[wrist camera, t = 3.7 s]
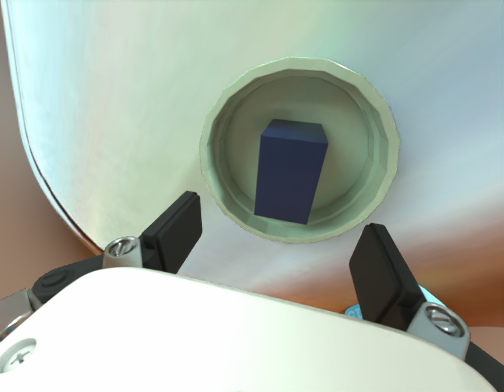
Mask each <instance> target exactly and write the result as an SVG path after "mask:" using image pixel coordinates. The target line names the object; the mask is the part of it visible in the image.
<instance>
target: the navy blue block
mask: <svg viewBox="0 0 504 392" xmlns="http://www.w3.org/2000/svg"><path fill="white" fill-rule="evenodd" d="M327 148H328V141H327V138H326V135H325V132H324V130H323V127H322V124H317V123H308V122H299V121H290V120H281V119H272V121H271V122H270V123H269V125H268V126H267V127H266V129H265V130H264V131H263V133H262V134H261V136H260V148H259V160H258V171H257V183H256V194H255V206H254V215H256V216H261V217H266V218H272V219H277V220H282V221H288V222H293V223H298V224H304V225H307V223H308V219H309V215H310V211H311V208H312V204H313V200H314V196H315V193H316V189H317V185H318V181H319V178H320V174H321V170H322V166H323V163H324V159H325V155H326V151H327Z"/></svg>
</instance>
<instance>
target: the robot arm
mask: <svg viewBox="0 0 504 392" xmlns="http://www.w3.org/2000/svg"><path fill="white" fill-rule="evenodd" d="M201 234H202V220H201V206H200V196H199V195H197V193H196V192H191V191H186V192H185V193H184V194H182V195H181V196H180V197H179V198H178V199H177V200H176V201H175V202H174V203H173V204H172V205H171V206H170V207H169V208H168V209H167V210H166V211H165V212H164V213H163V214H161V215H160V216H159V217H158V218H157V219H156V220H155V221H154V222H153V223H152V224H151V225H150V226H149V227H148V228H147V229H146V230H145V231H144V232H143V233H142V234H141V235H140V236H139V237H138V238H137V237H133V236H126V237H121V238H118V239H116V240H114V241H112V242H111V243H110V244H108V245H107V247H106V248H105V250H104V254H101V255H98V256H95V257H92V258H89V259H85V260H82V261H79V262H75V263H72V264H69V265H65V266H63V267H59V268H57V269H54V270H51V271H50V272H48V273H46V274H44V275H43V276H42V277H40V278H39V279H38V280H37V281H36V282H35V283H34V286H33V287H32V288H31V289H29V290H27V289H26V288H24V289H22V290H20V291H18V292H16V293H13V294H11V295H9V296H7V297H5V298H3V299H1V300H0V392H504V365H502V364H501V363H499V362H498V361H497V360H495V359H494V358H493V357H491V356H490V355H489V354H487V353H486V352H485V351H483V350H482V349H481V348H479V347H478V346H476V345H475V344H474V343H473V342H471V341H470V339H471V333H470V331H469V329H468V327H467V325H466V324H465V323H464V321H463V320H462V319H461V318H460V317H459V316H458V315H457V314H455V313H454V312H453V311H451V310H450V309H448V308H447V307H445V306H443V305H441V304H438V303H435V302H428V301H427V299H426V297H425V296H424V294H423V292H422V290H421V288H420V287H419V285H418V283H417V282H416V280H415V278H414V276H413V275H412V273H411V271H410V269H409V268H408V266H407V264H406V262H405V261H404V259H403V257H402V255H401V254H400V252H399V250H398V248H397V247H396V245H395V243H394V241H393V240H392V238H391V236H390V234H389V233H388V231H387V229H386V227H385V226H384V225H381V224H375V223H370V224H369V225H366V226H365V228H364V230H363V232H362V235H361V237H360V239H359V241H358V243H357V246H356V248H355V250H354V252H353V254H352V257H351V259H350V262H349V267H350V271H351V275H352V279H353V283H354V287H355V291H356V295H357V298H358V302H359V306H360V310H361V314H362V318H363V320H362V319H358V318H354V317H351V316H347V315H343V314H339V313H335V312H331V311H327V310H323V309H318V308H314V307H310V306H306V305H302V304H298V303H294V302H290V301H286V300H282V299H278V298H274V297H269V296H265V295H261V294H257V293H253V292H249V291H244V290H240V289H236V288H232V287H228V286H223V285H219V284H215V283H211V282H206V281H202V280H198V279H194V278H189V277H185V276H180V275H176V273H177V272H178V270H179V269H180V267H181V266H182V264H183V263H184V261H185V260H186V258H187V257H188V255H189V253H190V252H191V250H192V249H193V247H194V246H195V244H196V243H197V241H198V240H199V238H200V237H201Z"/></svg>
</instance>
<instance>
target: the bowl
mask: <svg viewBox="0 0 504 392" xmlns="http://www.w3.org/2000/svg"><path fill="white" fill-rule="evenodd" d="M272 119H281V120H290V121H299V122H308V123H317V124H322V127H323V130H324V132H325V135H326V138H327V141H328V148H327V151H326V155H325V159H324V163H323V166H322V170H321V174H320V178H319V181H318V185H317V189H316V193H315V196H314V200H313V204H312V208H311V211H310V215H309V219H308V223H307V225H304V224H298V223H293V222H288V221H282V220H277V219H272V218H266V217H261V216H256V215H254V206H255V194H256V183H257V171H258V160H259V148H260V136H261V134H262V133H263V131H264V130H265V129H266V127H267V126H268V125H269V123H270V122H271V121H272ZM399 143H400V139H399V135H398V132H397V129H396V125H395V122H394V119H393V116H392V113H391V109H390V106H389V104H388V103H387V102H386V101H385V100H384V99H383V97H382V96H381V95H380V94H379V93H378V92H377V90H376V89H375V88H374V87H373V86H372V85H371V84H370V82H369V81H368V80H367V79H366V78H365V77H363V76H362V75H360V74H358V73H356V72H354V71H352V70H350V69H348V68H346V67H344V66H342V65H340V64H337V63H335V62H333V61H331V60H328V59H320V58H304V57H285V58H282V59H279V60H276V61H272V62H269V63H266V64H263V65H260V66H257V67H253V68H252V69H250V70H248V71H247V72H246V73H244V74H243V75H242V76H241V77H239V78H238V79H237V80H235V81H234V82H233V83H232V84H230V85H229V86H228V87H226V88H225V89H224V90H223V91H222V93H221V94H220V96H219V98H218V99H217V101H216V102H215V104H214V105H213V107H212V108H211V110H210V112H209V113H208V115H207V117H206V119H205V123H204V127H203V131H202V135H201V140H200V144H199V149H200V162H201V172H202V175H203V177H204V180H205V183H206V185H207V188H208V190H209V193H210V195H211V196H212V198H213V199H214V201H215V202H216V203H217V205H218V206H219V207H220V209H221V210H222V211H223V213H225V215H226V216H228V217H229V218H230V219H231V220H233V221H234V222H235V223H236V224H238V225H239V226H240V227H241V228H243V229H245V230H247V231H249V232H251V233H253V234H255V235H257V236H260V237H262V238H265V239H269V240H274V241H279V242H284V243H313V242H317V241H321V240H325V239H328V238H332V237H336V236H338V235H341V234H342V233H344V232H346V231H348V230H349V229H351V228H353V227H355V226H356V225H358V224H360V223H362V222H363V221H364V220H365V219H366V218H367V217H368V216H369V215H370V214H371V213H372V212H373V211H374V210H375V209H376V208H377V206H378V205H379V204H380V203H381V202H382V201H383V200H384V198H385V196H386V194H387V192H388V190H389V188H390V185H391V183H392V181H393V179H394V177H395V175H396V173H397V165H398V154H399Z"/></svg>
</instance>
